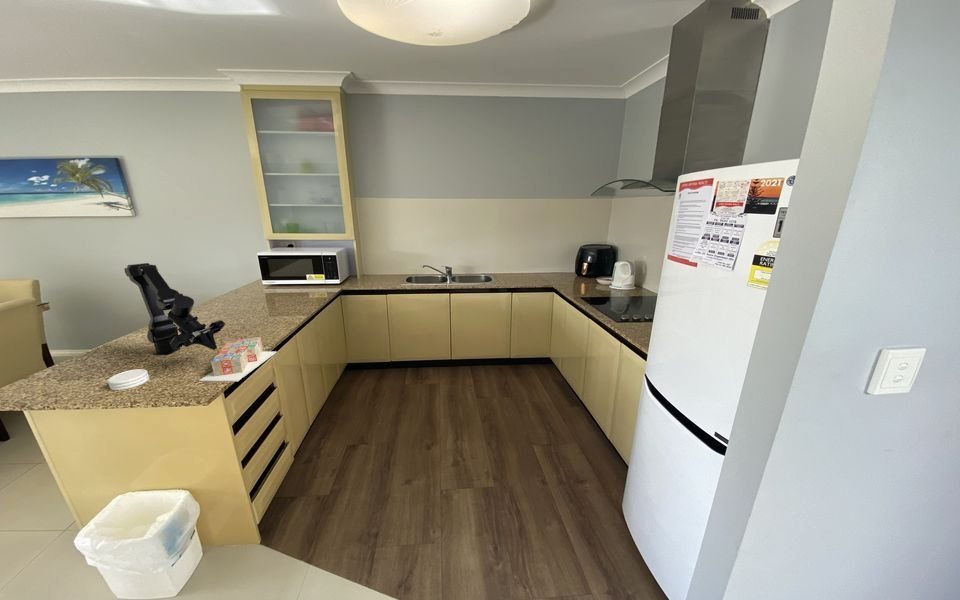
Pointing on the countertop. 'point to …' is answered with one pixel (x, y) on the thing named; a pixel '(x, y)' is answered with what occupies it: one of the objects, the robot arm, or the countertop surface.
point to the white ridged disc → (128, 379)
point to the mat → (237, 376)
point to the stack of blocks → (236, 356)
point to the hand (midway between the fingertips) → (215, 348)
